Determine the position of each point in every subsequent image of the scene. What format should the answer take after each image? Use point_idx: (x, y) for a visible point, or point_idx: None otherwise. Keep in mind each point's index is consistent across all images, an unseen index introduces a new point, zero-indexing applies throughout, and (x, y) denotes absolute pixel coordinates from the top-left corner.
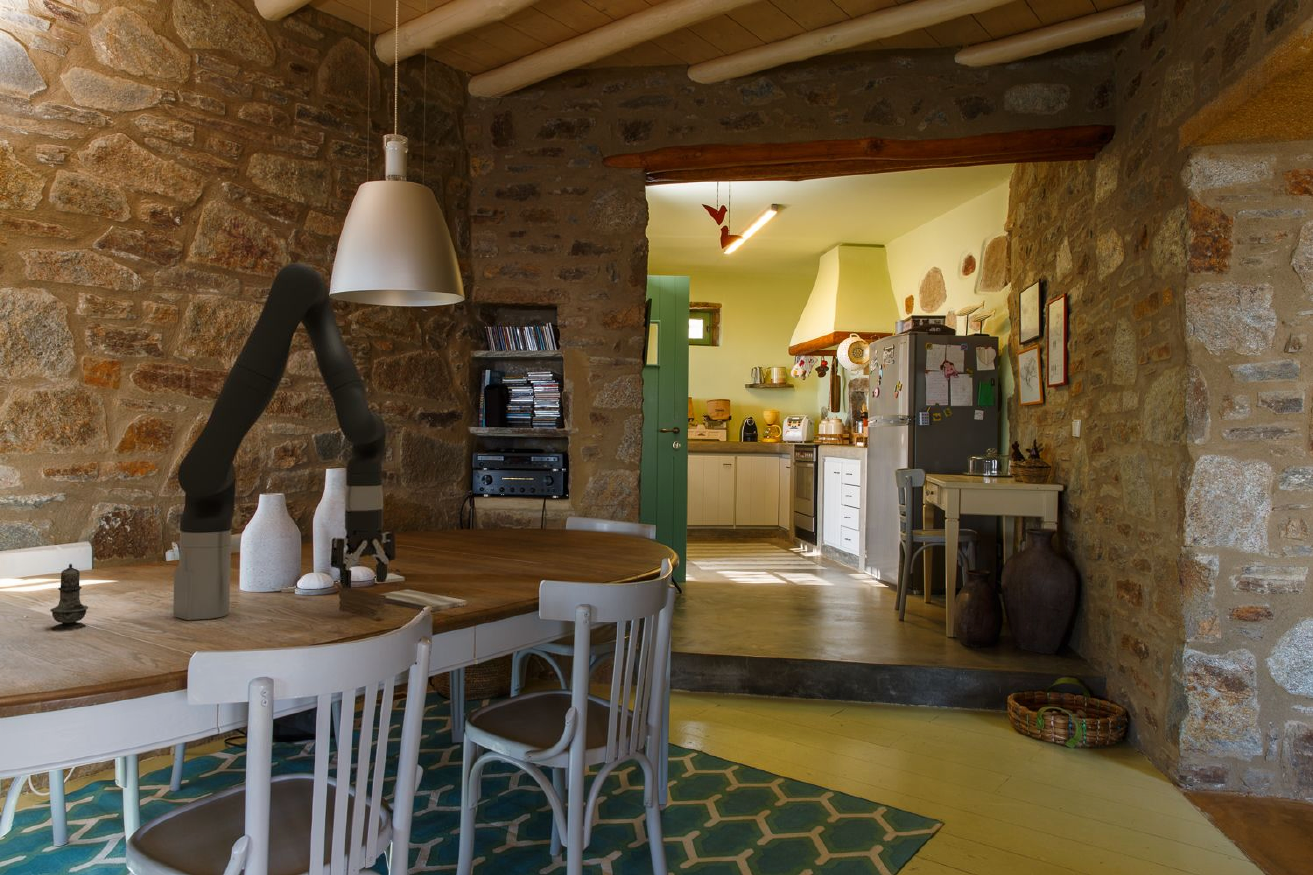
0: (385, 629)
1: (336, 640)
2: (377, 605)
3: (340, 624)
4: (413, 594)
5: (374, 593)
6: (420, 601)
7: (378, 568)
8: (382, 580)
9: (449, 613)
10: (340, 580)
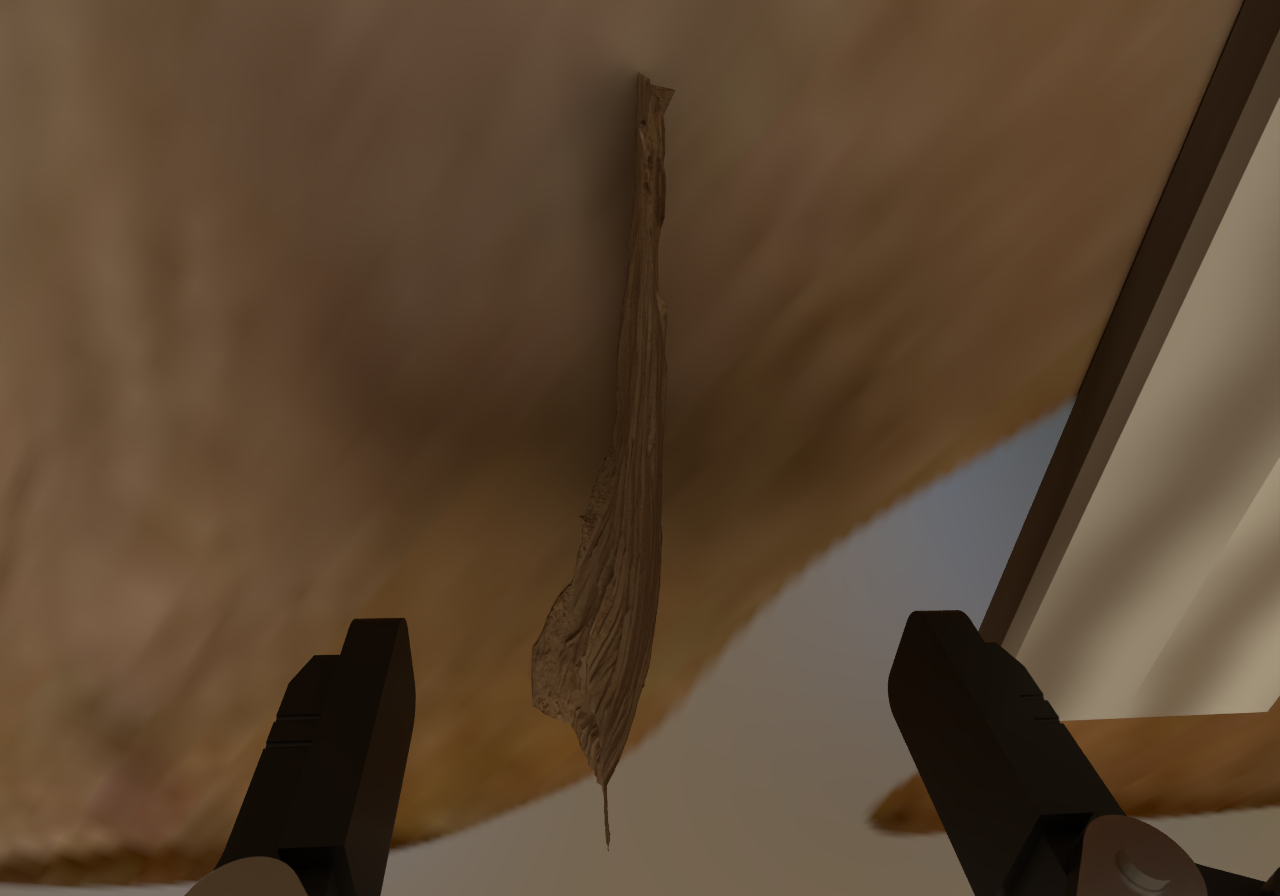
0: (416, 836)
1: (37, 867)
2: (603, 694)
3: (259, 608)
4: None
5: (626, 736)
6: (1141, 548)
7: (984, 791)
8: (893, 709)
9: None
10: (280, 724)
